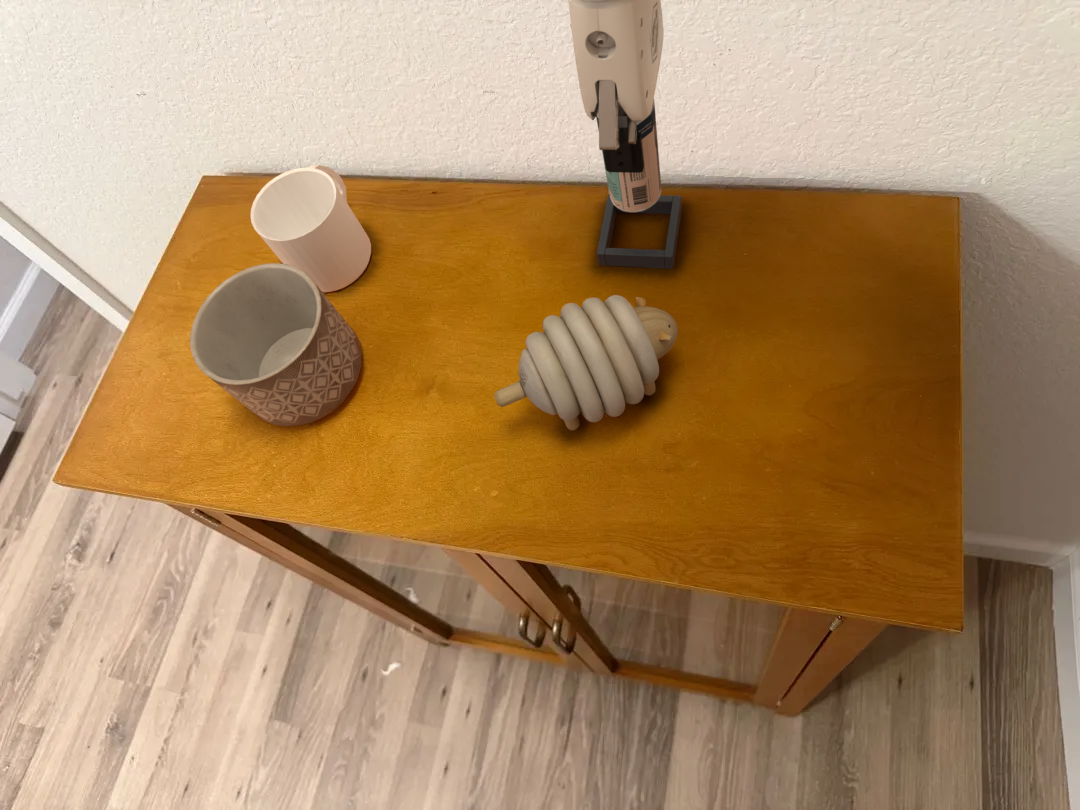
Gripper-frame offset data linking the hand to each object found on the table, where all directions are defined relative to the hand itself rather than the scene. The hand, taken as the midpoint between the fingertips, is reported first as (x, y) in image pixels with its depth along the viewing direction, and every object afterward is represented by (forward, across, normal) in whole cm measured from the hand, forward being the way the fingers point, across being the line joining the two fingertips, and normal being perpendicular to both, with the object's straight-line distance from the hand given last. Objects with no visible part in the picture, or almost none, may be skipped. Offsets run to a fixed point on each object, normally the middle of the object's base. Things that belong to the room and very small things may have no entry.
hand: (629, 142), depth 66 cm
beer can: (+7, 0, 0) cm, 7 cm away
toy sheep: (+13, -17, +2) cm, 22 cm away
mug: (+13, -3, +33) cm, 36 cm away
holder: (+13, 0, 0) cm, 13 cm away
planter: (+13, -18, +32) cm, 39 cm away
